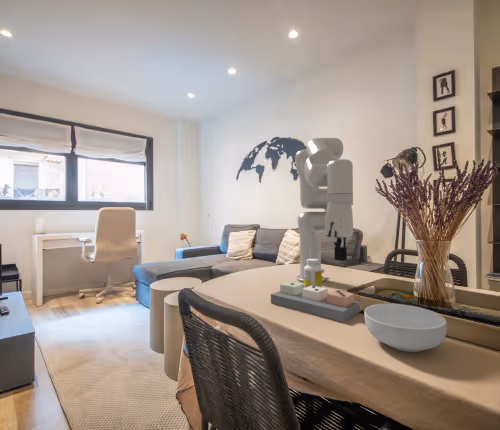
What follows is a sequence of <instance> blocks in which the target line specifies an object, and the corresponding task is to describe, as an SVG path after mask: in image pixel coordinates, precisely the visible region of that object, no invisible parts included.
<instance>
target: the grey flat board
mask: <svg viewBox="0 0 500 430" xmlns="http://www.w3.org/2000/svg"><path fill="white" fill-rule="evenodd" d="M270 304H273V305H277V306H280V307H285V308H288V309H292V310H295V311H299V312H303V313H307V314H310V315H314V316H317V317H322V318H325V319H329V320H334V321H336V322H341V323H344V322H346V321H348V320H350V319H351V318H352V317H354V316H355V315H358V314H359V313H360V312H361V311H360V306H359V302H356V301H354V304H353V305H352V306H350V307H348V308H343V307H339V306H335V305H330V304H327V298H326V299H324V300H322V301H320V302H317V301H313V300H309V299H304V298H302V294H300V295H297V296H292V295H287V294H283V293H280V290H279V291H276V292H273V293H270Z"/></svg>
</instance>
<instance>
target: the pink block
mask: <svg viewBox="0 0 500 430" xmlns="http://www.w3.org/2000/svg"><path fill="white" fill-rule="evenodd" d="M354 299H355V293H354V292H348V291H342V290H338V289H337V290H335V289H334V290H333V291H331V292H329V293H328V294H327V304H330V305H335V306H339V307H343V308H348V307H350V306H352V305H353V304H354Z"/></svg>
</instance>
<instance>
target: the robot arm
mask: <svg viewBox="0 0 500 430" xmlns="http://www.w3.org/2000/svg"><path fill="white" fill-rule="evenodd" d="M343 153H344V144H343V141H342V140H341V139H340V138H337V137H316V138H312V139H311V140H309V141H308V143H307V144H306V148H305V149H300V150H298V151H297V152H296V153H295V158H294V160H295V162H294V163H295V168H296V172H297V174H298V178H299V189H300V191H299V192H300V193H299V194H300V199H299V200H300V205H301V207H302V208H304V209H310V210H312V209H313V210H315V209H316V210H320V209H321V210H324V211H304V212H301V213H300V214H298V217H297V225H298V234H299V275H297V276H296V280H297V281H299V282H302V283H304V267H305V266H307V259H318V260H319V264H318V266H320V267H321V269H322V274H324V273H325V269H324V268H322V244H321V239H320V238H319V237H318V235H316V233H325V236H326V237H327V238H330V243H333V248H334V260H335V261H340V262H346V261H347V260H348V255H347V254H348V252H347V251H348V242H349V240H350V238H351V237H352V236H353V234H354V217H353V208H352V206H354V183H353V182H354V179H353V178H354V177H353V176H354V174H353V173H354V172H353V170H354V167H353V162H352V161H351V160H349V159H344V158H342V156H343ZM325 279H326V278H325V277H324V276H323V275H322V283H323V282H324V281H325Z"/></svg>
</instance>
